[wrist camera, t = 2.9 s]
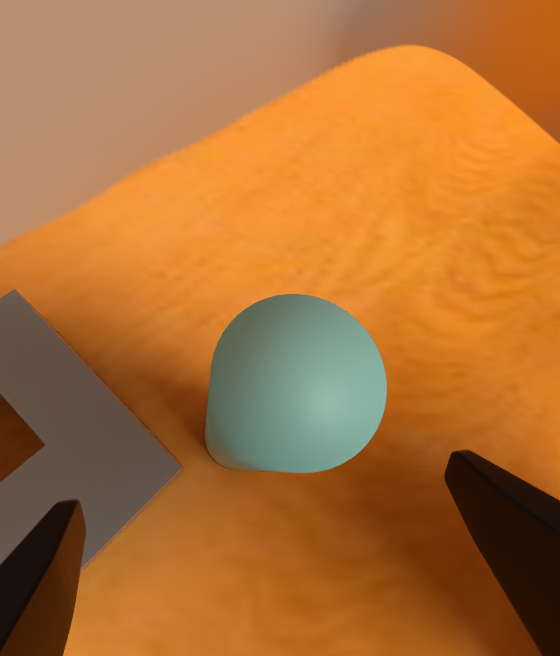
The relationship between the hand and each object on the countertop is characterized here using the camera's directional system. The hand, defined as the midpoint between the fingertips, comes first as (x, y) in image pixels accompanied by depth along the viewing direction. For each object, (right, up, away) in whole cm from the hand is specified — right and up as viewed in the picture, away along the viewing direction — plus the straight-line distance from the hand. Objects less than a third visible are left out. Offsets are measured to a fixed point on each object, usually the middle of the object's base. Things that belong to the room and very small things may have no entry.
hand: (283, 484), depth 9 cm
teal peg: (-2, -1, +9) cm, 9 cm away
